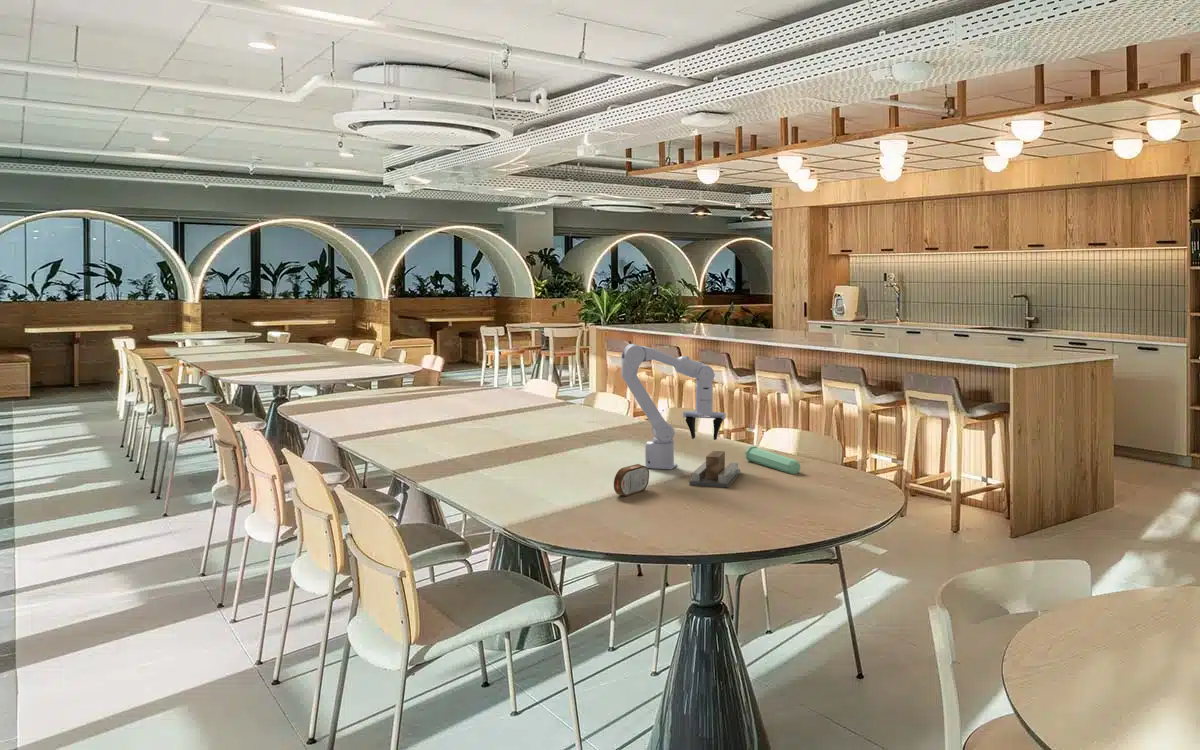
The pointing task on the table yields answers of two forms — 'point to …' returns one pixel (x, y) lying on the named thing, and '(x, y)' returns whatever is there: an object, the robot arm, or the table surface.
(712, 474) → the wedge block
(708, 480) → the slot base
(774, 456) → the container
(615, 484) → the tin
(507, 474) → the table surface
